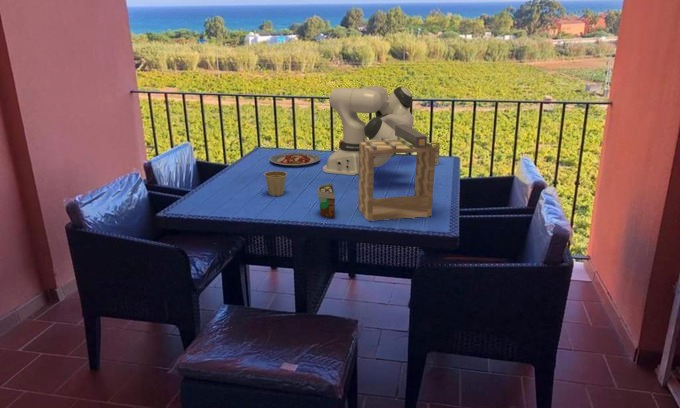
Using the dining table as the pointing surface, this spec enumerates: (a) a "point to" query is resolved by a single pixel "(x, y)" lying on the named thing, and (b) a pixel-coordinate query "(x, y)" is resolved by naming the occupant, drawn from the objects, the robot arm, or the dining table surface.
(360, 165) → the pine shelf
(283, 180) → the flower pot
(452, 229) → the dining table surface
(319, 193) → the food container
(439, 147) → the crayon box
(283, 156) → the ceramic plate
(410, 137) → the grey brown bar
